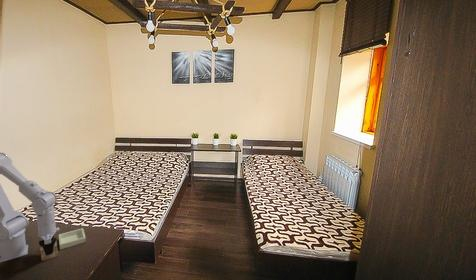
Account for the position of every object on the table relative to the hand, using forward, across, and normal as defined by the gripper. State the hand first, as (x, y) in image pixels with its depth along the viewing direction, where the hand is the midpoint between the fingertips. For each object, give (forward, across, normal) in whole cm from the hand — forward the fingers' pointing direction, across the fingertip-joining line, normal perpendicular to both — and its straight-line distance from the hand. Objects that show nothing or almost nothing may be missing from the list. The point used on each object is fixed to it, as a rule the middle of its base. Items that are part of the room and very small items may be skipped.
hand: (49, 250), depth 100 cm
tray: (+2, +6, -8) cm, 11 cm away
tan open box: (+2, 0, 0) cm, 2 cm away
